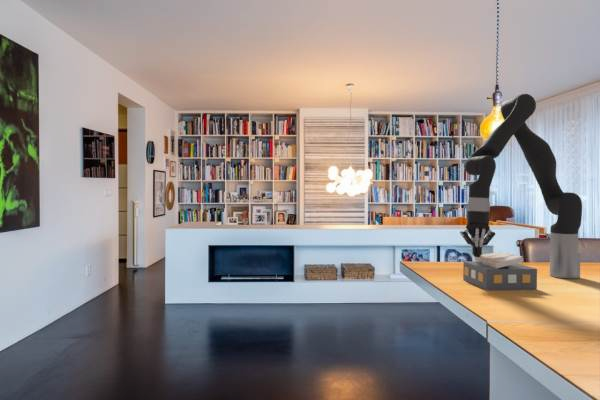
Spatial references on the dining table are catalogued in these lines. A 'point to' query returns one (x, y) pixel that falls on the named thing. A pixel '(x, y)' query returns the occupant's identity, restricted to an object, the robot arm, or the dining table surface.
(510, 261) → the rocker
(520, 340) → the dining table surface
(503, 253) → the white rectangular block
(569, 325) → the dining table surface
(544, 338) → the dining table surface
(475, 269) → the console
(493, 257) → the rocker
